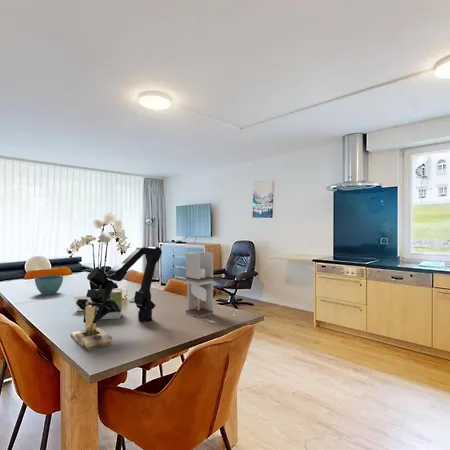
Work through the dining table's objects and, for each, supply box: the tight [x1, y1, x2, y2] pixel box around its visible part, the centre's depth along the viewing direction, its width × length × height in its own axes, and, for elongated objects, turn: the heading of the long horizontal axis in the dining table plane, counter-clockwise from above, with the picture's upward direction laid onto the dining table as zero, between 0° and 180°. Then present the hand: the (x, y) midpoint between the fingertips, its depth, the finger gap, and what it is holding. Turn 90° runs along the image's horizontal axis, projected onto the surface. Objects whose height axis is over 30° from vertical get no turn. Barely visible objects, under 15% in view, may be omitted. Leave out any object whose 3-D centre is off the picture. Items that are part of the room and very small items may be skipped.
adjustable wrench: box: [127, 297, 157, 307], centre depth 194 cm, size 25×6×2 cm, turn 50°
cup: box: [73, 292, 91, 312], centre depth 178 cm, size 10×10×9 cm
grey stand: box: [185, 251, 214, 318], centre depth 171 cm, size 11×11×35 cm
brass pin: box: [84, 305, 97, 337], centre depth 130 cm, size 4×4×14 cm
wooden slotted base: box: [70, 327, 113, 351], centre depth 130 cm, size 10×22×4 cm, turn 42°
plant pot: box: [34, 275, 64, 296], centre depth 222 cm, size 18×18×12 cm
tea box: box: [91, 288, 123, 320], centre depth 165 cm, size 15×10×15 cm, turn 105°
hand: (88, 322), depth 129 cm, fingers closed on brass pin, 4 cm apart
